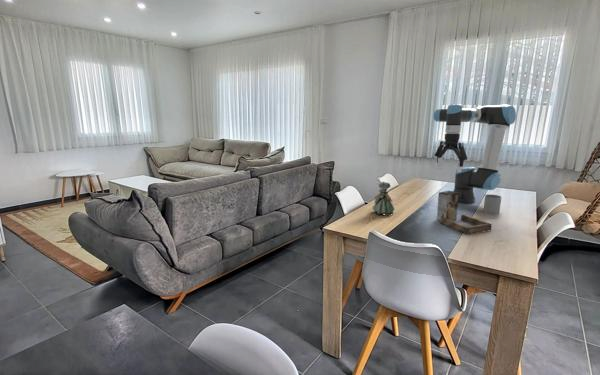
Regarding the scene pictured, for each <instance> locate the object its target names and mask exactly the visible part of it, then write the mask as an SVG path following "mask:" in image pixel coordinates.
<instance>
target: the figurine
mask: <svg viewBox="0 0 600 375" xmlns="http://www.w3.org/2000/svg"><path fill="white" fill-rule="evenodd" d="M378 188H379V193H378V194H377V195H375V196H374V205H373V206H372V209H373V211H374V212H375V213H376V212H377V213H376V214H377V215H379V214H385V215H391V214H393V215H394V211H395V207H394V205H393V203H392V201H393V199H392V198H391V197H390V195H389V191H388V189H390V188H391V184H390V183H389V182H385V181H381V182H379V184H378Z"/></svg>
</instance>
